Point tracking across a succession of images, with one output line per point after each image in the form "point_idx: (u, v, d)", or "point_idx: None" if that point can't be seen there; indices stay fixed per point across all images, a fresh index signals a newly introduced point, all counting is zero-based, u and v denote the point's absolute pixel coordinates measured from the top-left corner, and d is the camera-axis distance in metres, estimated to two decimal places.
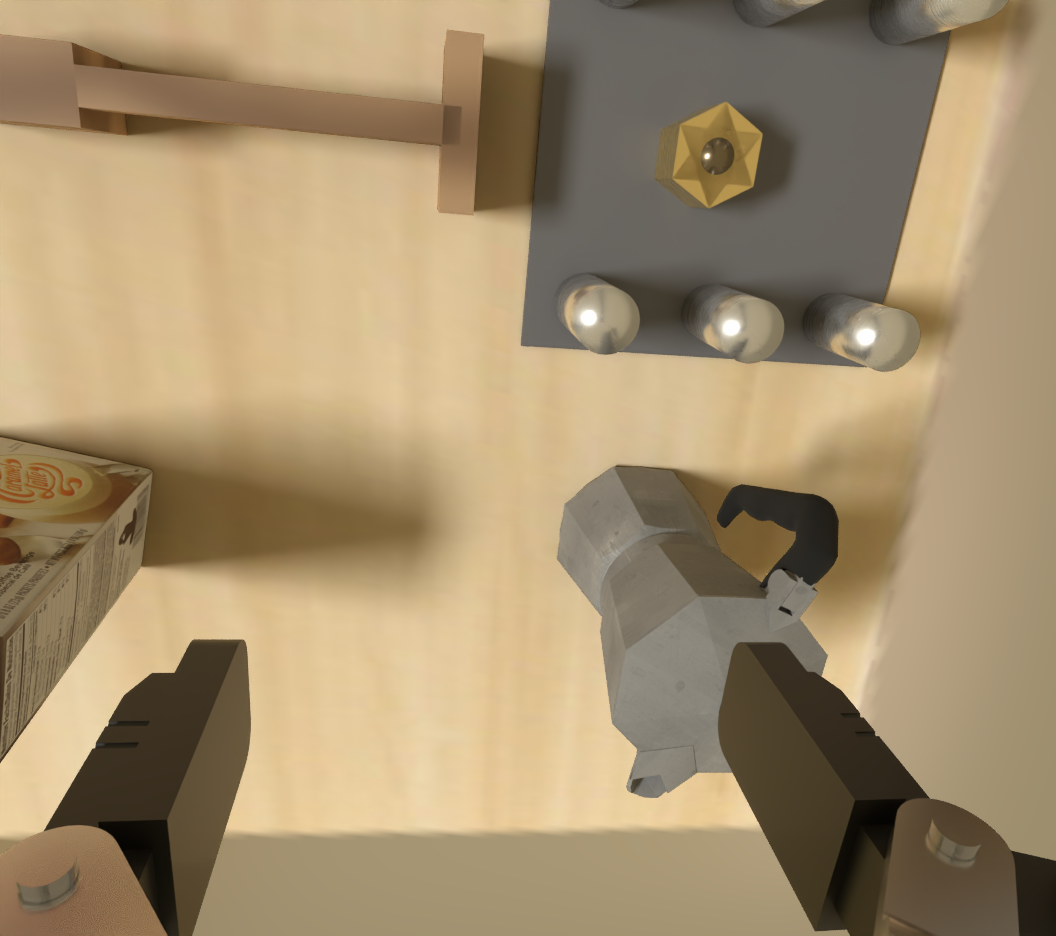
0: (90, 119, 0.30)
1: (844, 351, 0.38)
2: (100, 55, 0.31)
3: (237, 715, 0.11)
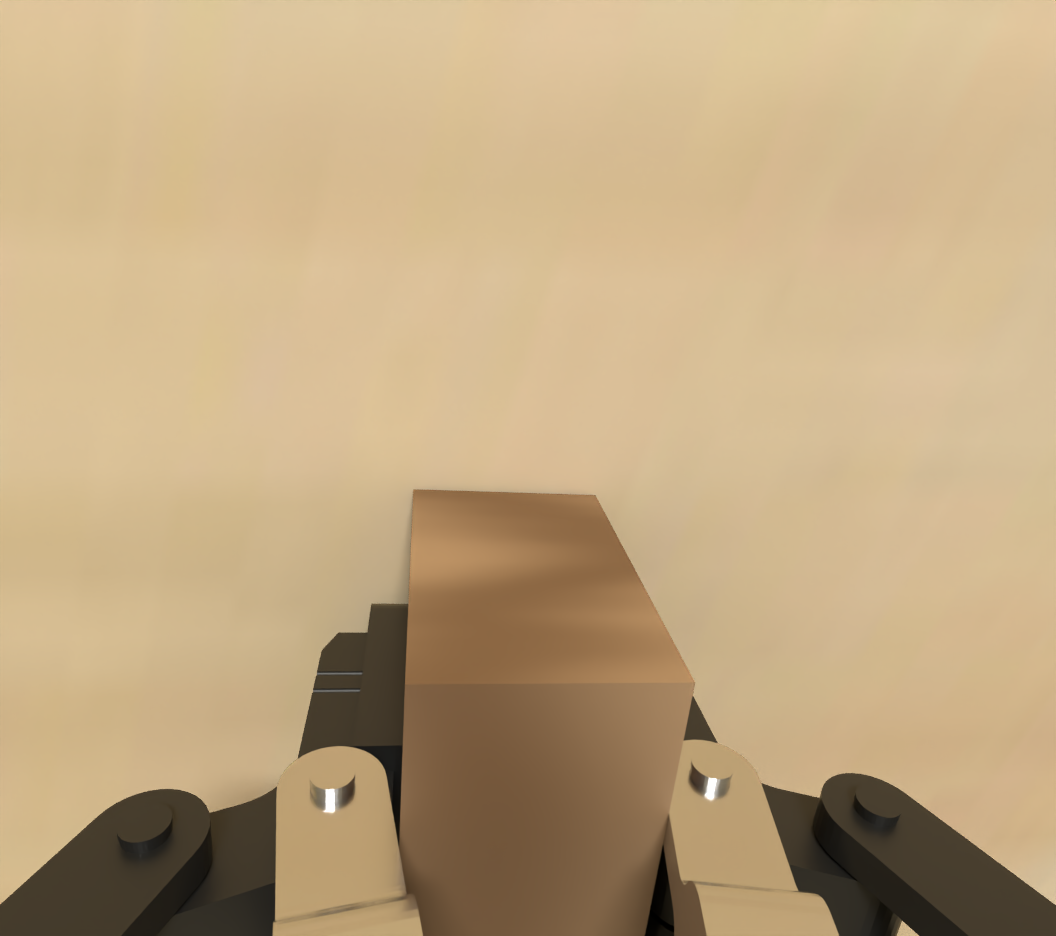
0: None
1: None
2: None
3: None
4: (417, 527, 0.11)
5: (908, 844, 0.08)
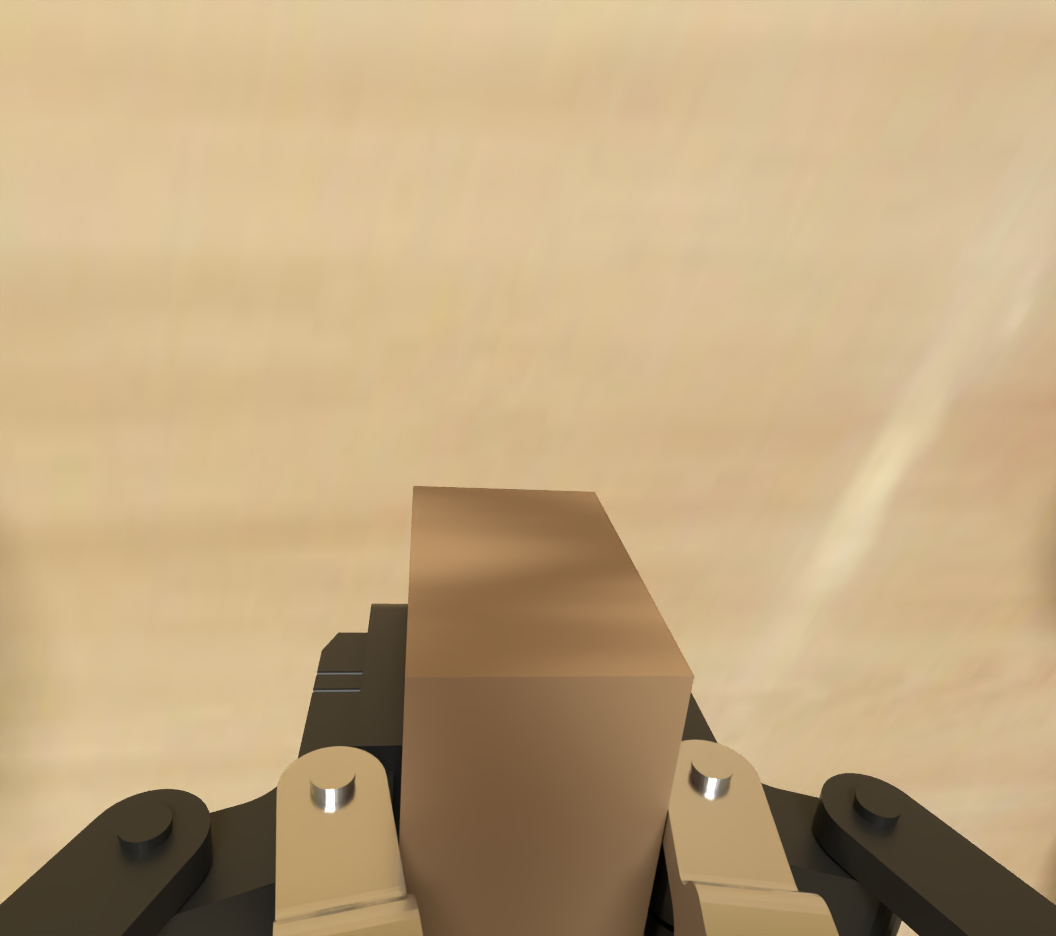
0: None
1: None
2: None
3: None
4: (417, 523, 0.11)
5: (908, 844, 0.08)
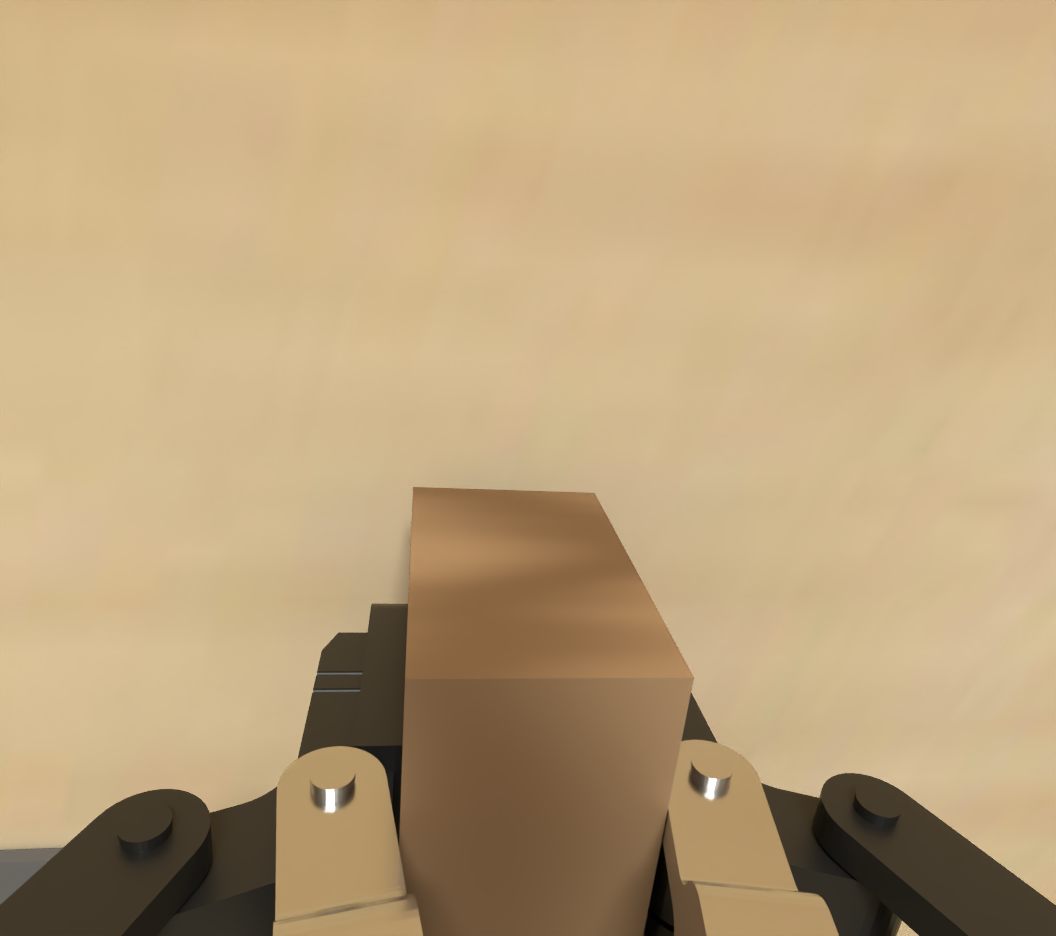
0: None
1: None
2: None
3: None
4: (417, 525, 0.11)
5: (908, 844, 0.08)
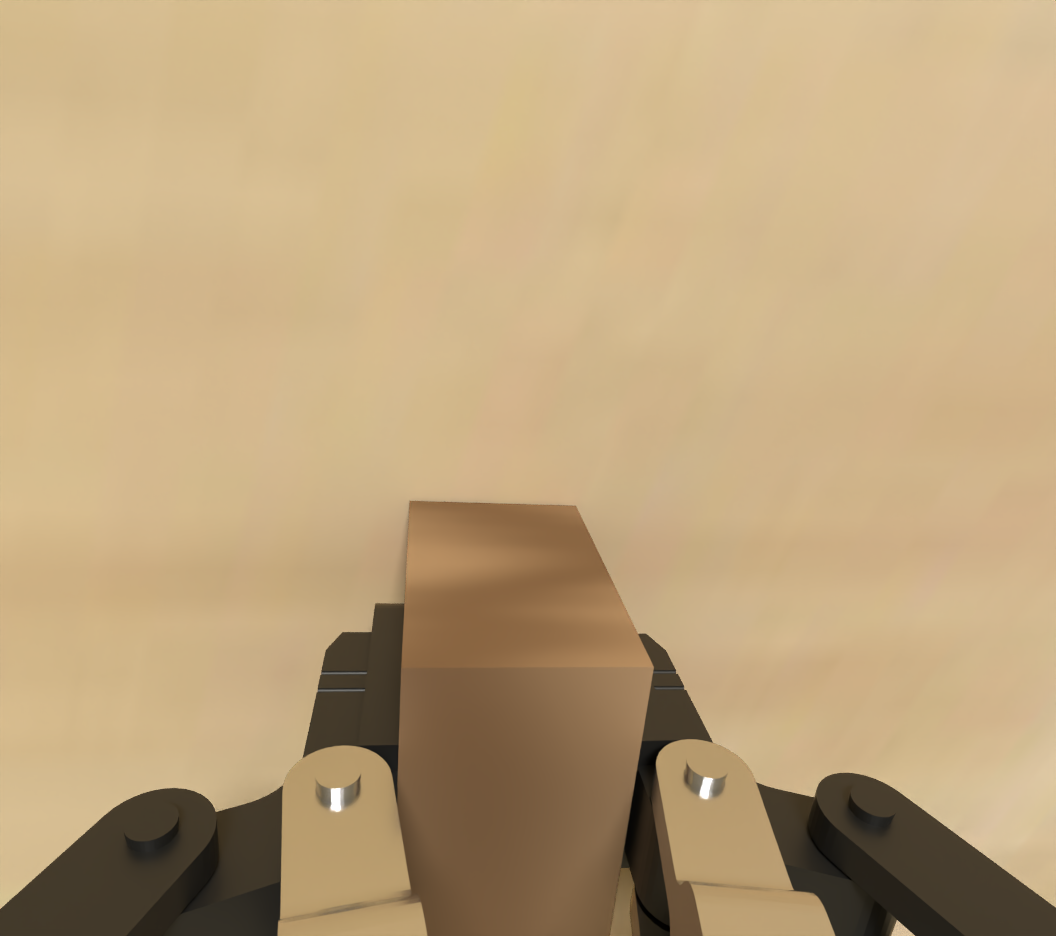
0: None
1: None
2: None
3: None
4: (413, 535, 0.12)
5: (903, 843, 0.08)
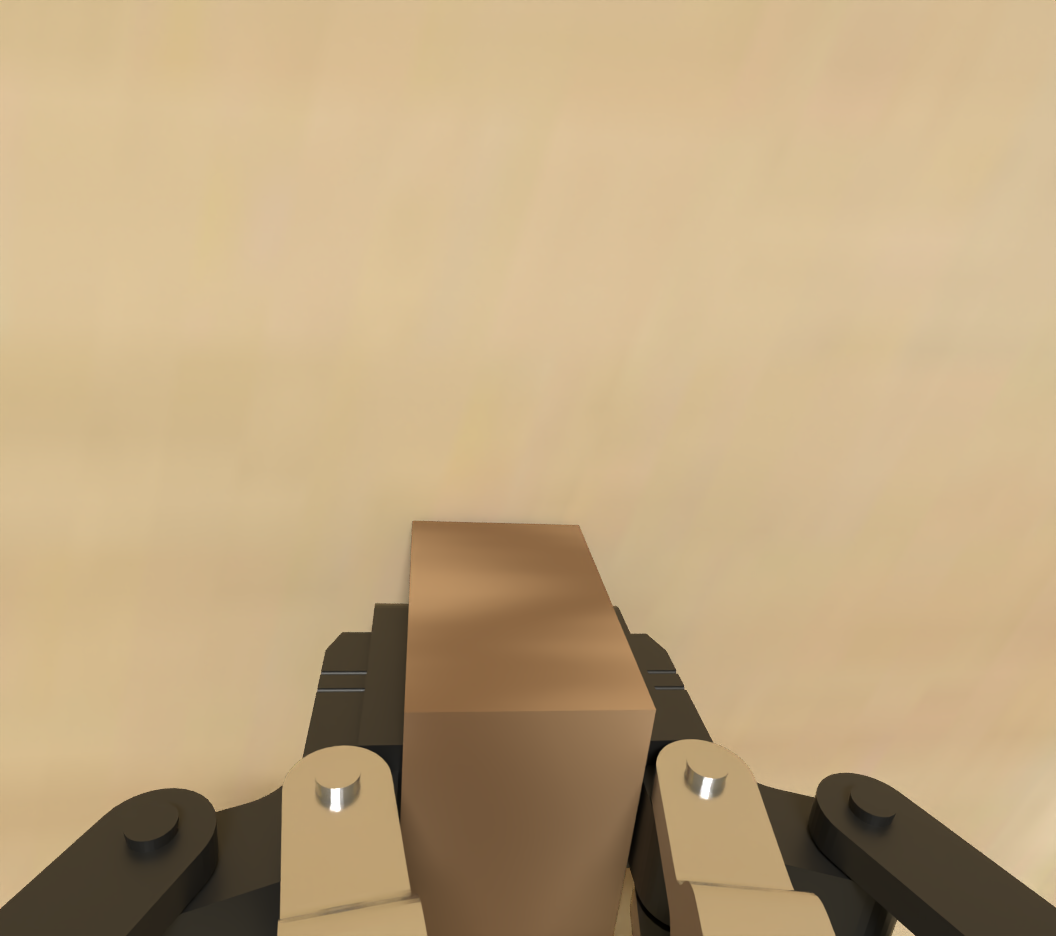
0: None
1: None
2: None
3: None
4: (416, 560, 0.12)
5: (903, 843, 0.08)
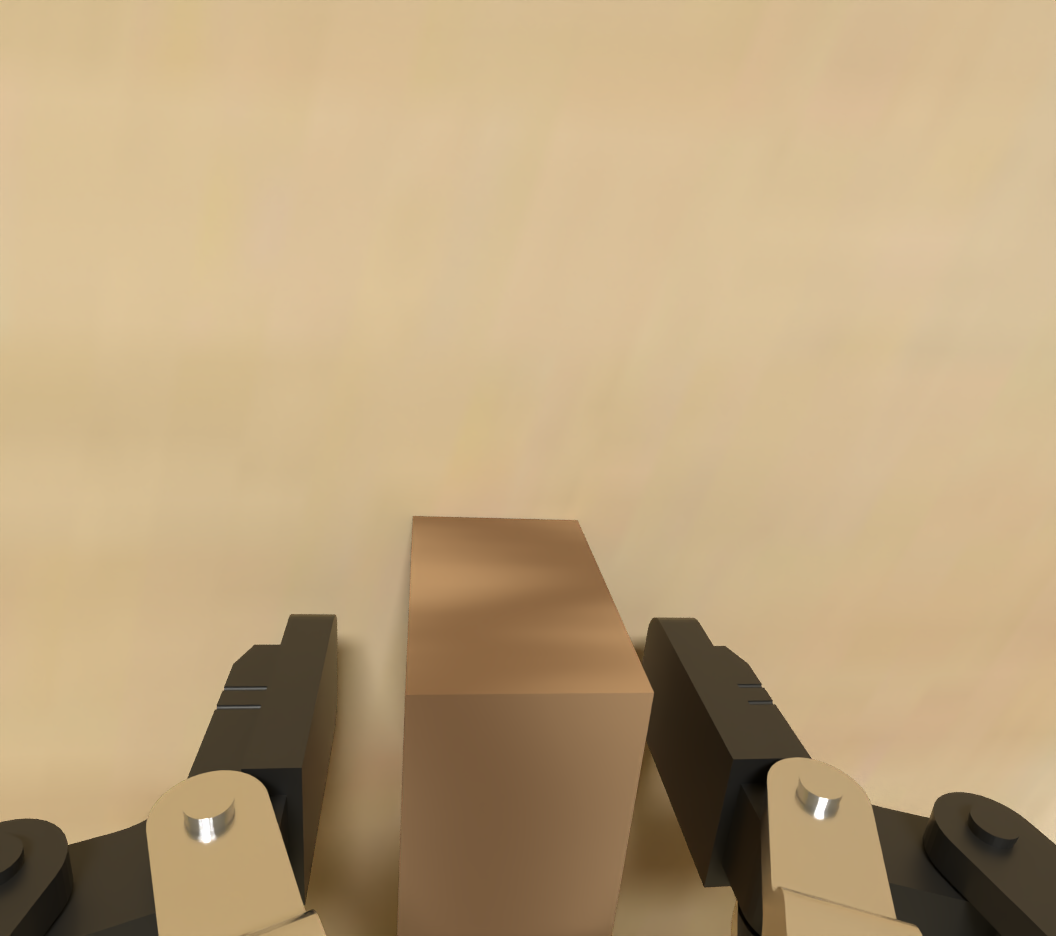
0: None
1: None
2: None
3: (332, 684, 0.12)
4: (416, 553, 0.12)
5: (1022, 868, 0.08)
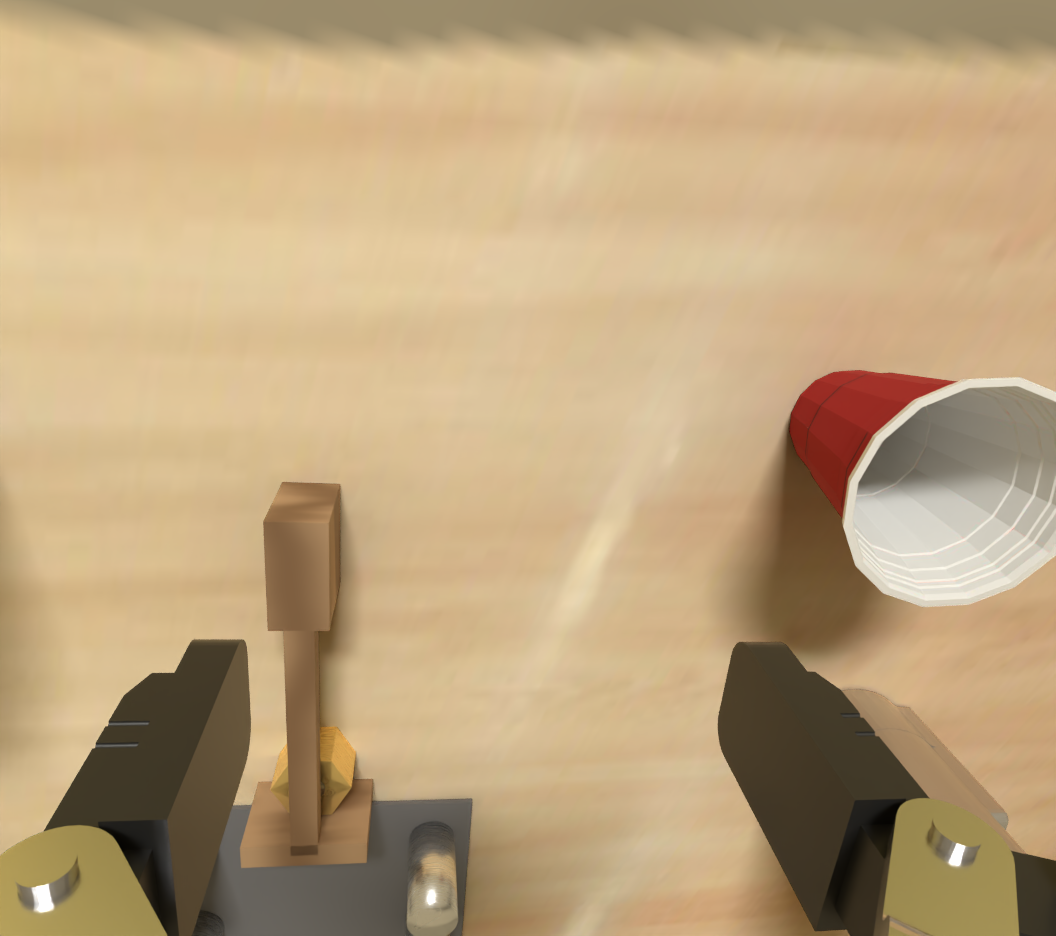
0: None
1: None
2: (334, 603, 0.40)
3: (237, 715, 0.11)
4: (279, 492, 0.38)
5: None
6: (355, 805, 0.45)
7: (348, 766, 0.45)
